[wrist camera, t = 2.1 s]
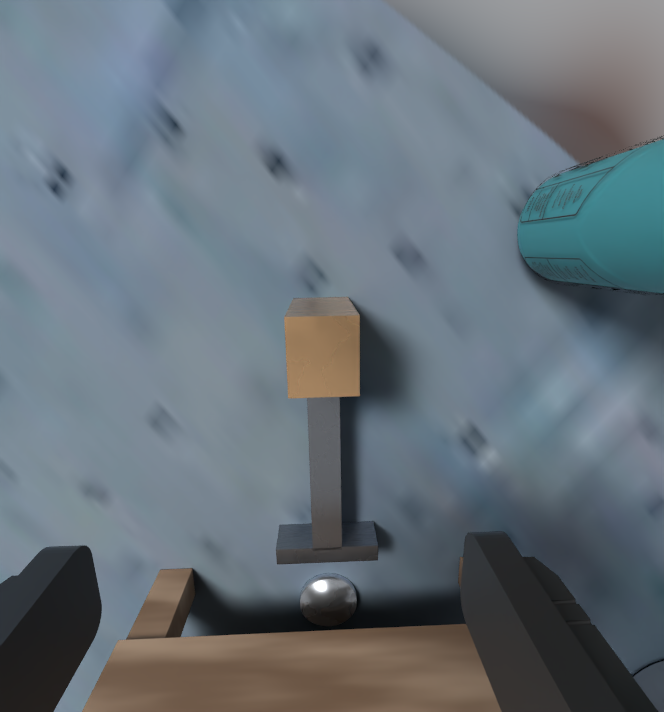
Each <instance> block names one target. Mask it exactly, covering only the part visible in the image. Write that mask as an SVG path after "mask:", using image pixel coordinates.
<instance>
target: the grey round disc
mask: <svg viewBox="0 0 664 712" xmlns="http://www.w3.org/2000/svg"><path fill="white" fill-rule="evenodd" d="M356 606H357V598H356V591H355V588H354V586H353V584H352V583H351V582H350V581H349V580H348V579H347V578H345V577H344V576H341V575H339V574H334V573H324V574H319V575H317V576H314V577H313V578H311V579H310V580H308V581H307V582H306V583H305V585H304V586H303V588H302V590H301V595H300V608H301V611H302V613H303V615H304V616H305V617H306V618H307V619H308V620H309V621H310V622H312V623H314V624H317V625H320V626H335V625H339V624H341V623H343V622H345V621H347V620H348V619H349V618H350V617H351V616H352V615H353V613H354V612H355V609H356Z"/></svg>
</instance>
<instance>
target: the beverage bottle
mask: <svg viewBox="0 0 664 712" xmlns="http://www.w3.org/2000/svg"><path fill="white" fill-rule="evenodd" d="M660 138H661V137H660ZM652 142H653V141H652ZM599 158H601V157H599ZM596 159H598V158H596ZM594 160H595V159H594ZM590 161H592V160H590ZM587 162H588V161H587ZM587 162H585V163H587ZM582 164H584V163H582ZM582 164H579V165H582ZM576 166H577V167H576V168H574V170H573V169H571V171H570V170H569V171H568V172H565V173H562V174H560V173H559V174H558V173H557V174H558V175H557V176H555V175H556V173H555V175H554V176H555V177H553V176H552V177H553V178H552V177H551V179H550V178H549V180H548V181H546V182H545V183H544V184H542V183H543V182H544V181H543V182H542V183H541V184H542V185H541V184H540V185H541V186H540V185H539V186H540V187H539V186H538V187H539V188H538V187H537V188H538V189H537V188H536V191H535V192H533V193H534V194H533V193H532V194H533V195H531V196H530V198H529V199H528V201H527V203H526V205H525V207H524V209H523V211H522V213H521V216H520V219H519V223H518V234H517V236H518V244H519V249H520V251H521V254H522V256H523V258H524V259H525V261H526V263H527V264H528V266H529V267H531V268H532V269H533V270H535V271H536V272H537V273H538V274H540V275H542V276H543V277H545V278H548V279H550V280H552V281H560V282H568V283H577V284H580V285H581V284H582V285H583V284H586V285H595V286H603V287H612V288H611V289H613V288H621V289H625V290H626V289H630V290H635V291H637V290H638V291H637V292H639V291H640V293H642V292H641V291H647V292H650V293H652V292H656V293H663V294H664V139H662V140H660V141H657V142H655V141H654V143H651V144H648V143H647V144H645V145H644V146H642V147H639V148H636V149H630V150H629V151H627V152H624V153H620V154H618V155H615V156H612V157H609V158H607V157H606V159H603V160H600V161H597V162H591V164H587V165H585V166H582V167H581V166H580V167H579V166H578V165H576ZM573 167H575V166H573ZM571 168H572V167H571ZM568 169H569V168H568ZM566 170H567V169H566ZM562 171H563V170H562ZM564 171H565V170H564ZM559 172H560V171H559ZM547 179H548V178H547ZM534 273H535V272H534ZM538 274H537V275H538ZM538 276H539V275H538ZM541 278H542V277H541ZM545 280H547V279H545ZM549 282H550V281H549ZM557 284H558V283H557ZM564 285H565V284H564ZM572 285H573V284H572ZM569 286H570V285H569ZM577 287H578V286H577ZM585 288H586V287H585ZM592 288H593V289H594V287H592ZM596 289H597V288H596ZM600 289H602V288H600ZM614 290H620V289H614ZM628 292H629V290H628ZM628 292H625V293H628ZM629 293H630V292H629ZM631 293H632V291H631ZM634 293H635V292H634ZM634 293H633V294H634ZM640 293H639V294H640ZM656 293H655V294H656ZM663 294H662V295H663ZM642 295H644V292H643V293H642ZM656 295H657V294H656Z"/></svg>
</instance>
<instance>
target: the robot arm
mask: <svg viewBox="0 0 664 712" xmlns="http://www.w3.org/2000/svg"><path fill="white" fill-rule="evenodd" d="M460 596H461V605H462V610H463V615H464V619H465V622H466V625H467V627H468V630H469V632H470V635H471V637H472V640H473V642H474V644H475V647H476V649H477V652H478V654H479V657H480V659H481V662H482V664H483V667H484V669H485V672H486V674H487V677H488V679H489V682H490V684H491V687H492V689H493V692H494V694H495V697H496V699H497V702H498V704H499V706H500V709H501V711H502V712H664V661H661V662H658V663H655V664H653V665H651V666H649V667H647V668H645V669H643V670H642V671H641V672H639V673H638V674H636V675H635V676H634V677H632V675H631V674H630V673H629V671H628V670H627V669H626V667H625V666H624V665H623V663H622V662H621V660H620V659H619V658H618V656H617V655H616V654H615V652H614V651H613V650H612V648H611V647H610V646H609V644H608V643H607V642H606V640H605V639H604V637H603V636H602V635H601V633H600V632H599V631H598V629H597V628H596V627H595V625H592V624H591V622H590V619H589V617H588V616H587V615H586V613H585V612H584V610H583V609H582V608H581V606H580V605H579V604H576V602H575V598H574V597H573V596H572V594H571V593H570V592H569V590H568V589H567V588H566V586H565V585H564V583H563V582H562V581H561V579H560V578H559V577H558V575H556V574H555V573H554V572H552V571H551V570H550V569H549V568H547V567H546V566H545V565H544V564H542V563H541V562H540V561H539V560H537V559H536V558H535V557H522V556H521V554H520V553H519V551H518V550H517V548H516V547H515V545H514V544H513V542H512V541H511V539H510V538H509V537H508V535H507V534H506V533H505V532H502V531H497V532H470V533H467V535H466V537H465V544H464V555H463V566H462V577H461V589H460ZM101 611H102V605H101V599H100V593H99V588H98V583H97V578H96V573H95V568H94V563H93V557H92V553H91V550H90V549H89V547H87V546H58V547H46V548H44V549H43V550H41V551H40V552H39V553H38V554H37V555H36V556H35V557H34V559H33V560H32V561H31V562H30V563H29V564H28V565H27V566H26V567H25V569H24V570H23V571H22V572H21V573H20V574H19V575H18V576H11V577H10V578H8V579H7V580H5V581H4V582H3V583H1V584H0V712H53V711H54V710H55V708H56V706H57V704H58V702H59V701H60V699H61V697H62V695H63V693H64V692H65V690H66V688H67V686H68V685H69V683H70V681H71V679H72V677H73V676H74V674H75V672H76V670H77V668H78V667H79V665H80V663H81V661H82V660H83V658H84V656H85V654H86V652H87V651H88V649H89V647H90V645H91V643H92V642H93V640H94V638H95V636H96V633H97V630H98V627H99V624H100V619H101Z"/></svg>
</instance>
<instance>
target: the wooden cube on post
mask: <svg viewBox="0 0 664 712" xmlns="http://www.w3.org/2000/svg"><path fill="white" fill-rule="evenodd" d="M284 320H285V340H286V361H287V381H288V398H307V403H308V430H309V458H310V486H311V514H312V524H288V525H279V533H278V540H277V547H276V555H277V564H299V563H323V562H347V561H371V560H378V543H377V538H376V533H375V528H374V523H373V521H365V522H342V521H341V452H340V397H349V396H360V315H359V313H358V312H357V310H356V309H355V307H354V306H353V304H352V303H351V301H350V299H349V298H348V297H328V298H293V300H292V302H291V304H290V307H289V309H288V311H287V313H286V315H285V317H284Z"/></svg>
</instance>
